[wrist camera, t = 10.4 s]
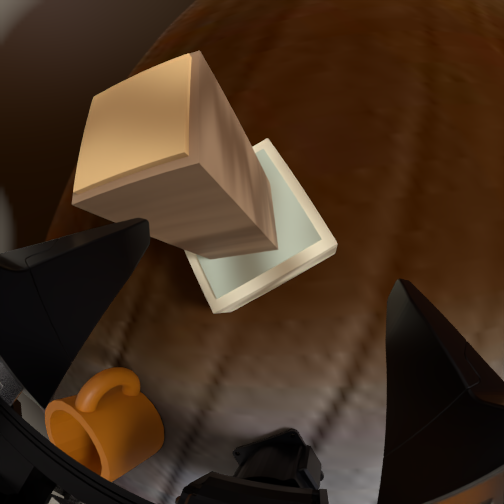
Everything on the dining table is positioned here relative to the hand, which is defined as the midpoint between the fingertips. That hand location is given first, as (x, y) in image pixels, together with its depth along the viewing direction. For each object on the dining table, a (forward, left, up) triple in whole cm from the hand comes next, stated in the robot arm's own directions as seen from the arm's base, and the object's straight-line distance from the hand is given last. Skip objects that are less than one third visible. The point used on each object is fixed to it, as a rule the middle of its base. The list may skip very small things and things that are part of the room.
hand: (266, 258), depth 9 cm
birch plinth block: (-1, +6, -14) cm, 15 cm away
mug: (-21, -4, -14) cm, 26 cm away
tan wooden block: (-1, +6, -10) cm, 12 cm away
